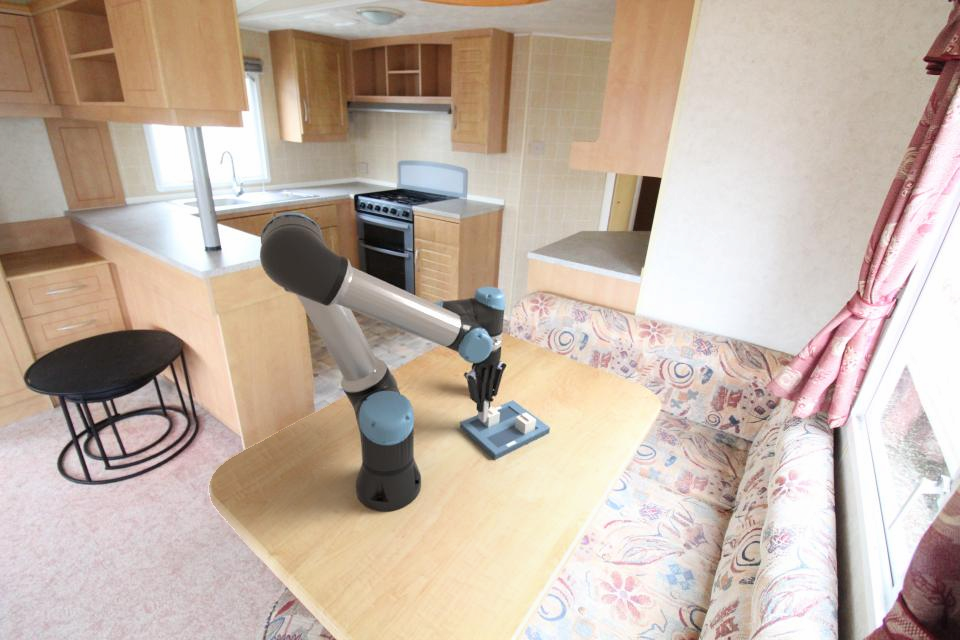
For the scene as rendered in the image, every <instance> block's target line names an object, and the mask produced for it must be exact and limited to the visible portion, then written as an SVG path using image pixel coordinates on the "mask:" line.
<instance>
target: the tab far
mask: <svg viewBox="0 0 960 640" xmlns="http://www.w3.org/2000/svg"><path fill="white" fill-rule="evenodd" d="M499 419H500V412H498V411H497V410H496V409H495V407H493V406H492V405H490V409H488V421H486V422H484V423H483V422H482V421H481V420H480V421H481V422H482V423H483V424H484V425H486V426H487V427H488V428H489V427H491V426H493V425H495V424H498V423H499Z"/></svg>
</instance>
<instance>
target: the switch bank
mask: <svg viewBox="0 0 960 640" xmlns="http://www.w3.org/2000/svg"><path fill="white" fill-rule="evenodd" d="M494 408H495V409H496V410H497V411H498V412H500V419H499V423H498V424H495V425H493V426H491V427H489V428H488V427H487V426H486V425H484V424H483V423H482V422H481V421H480V419H479V418H478V414H476V415H474V416H472V417H469V418H467V419H464V420H462V421H460V422H459V428H460V430H462V432H464V433H465V434H466V435H467V436H469V437H470V439H472V440H473V441H474V442H475V444H477V445H478V446H479V447H480V448H481V449H483V451H484V452H486V453H487V454H488V455H489V456H490V457H491V458H492V459H494V461H496V460H498V459H500V458H502V457H504V456H506V455H508V454H511V453H512V452H515V451H516V450H519V449H520V448H522V447H524V446H526V445H528V444H530V443H532V442H534V441H536V440H538V439H540V438H543V437H544V436H546V435H549V434H550V430H551V427H550V426H549V425H547V424H546V423H545V422H543V421H542V420H541V419H539V418H538V417H536V416H535V415H534V414H532V413H531V412H530V411H528V410H527V409H526V408H524V407H523V406H522V405H520V404H519V403H517V402H516V401H515V400H514V399H513V400H510V401H507V402H505V403H503V404H500V405H498V406H496V407H494ZM526 412H527V413H528V414H529V415H531V416H532V417H533V418H535V419H536V425H535V430H533V431H531V432H529V433H527V434H525V435H524V434H523V433H522V432H520V431H519V430H518V429H517V428H515V422H516V417H517V416H520V415H521V414H523V413H526Z"/></svg>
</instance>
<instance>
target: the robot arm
mask: <svg viewBox="0 0 960 640" xmlns="http://www.w3.org/2000/svg"><path fill="white" fill-rule="evenodd" d="M260 243H261V246H260V251H259V258H260V264H261V267H262V269H263V271H264V273H265V274H266V275H267V277H269V279H270V280H272V282H273V283H275V284H276V285H278V286H279V287H281V288H283V290H284V291H285V292H287V293H289V294H293V295H296V296H297V298H298V299H297V300H299V302H300V303H301V306H302V308H303V309H304V311H305V312H306V314H307V316H308V318H309V319H310V321H311V323H312V324H313V327H314V329H315V330H316V332H317V333H318V335H319V337H320V339H321V340H322V342H323V343H324V346H325V348H326V349H327V351H328V353H329V354H330V356H331V358H332V360H333V361H334V363H335V365H336V366H337V368H338V369H339V372H340V373H341V375H342V378H341V381H340V386H341V389H342V390H343V392H344V393H345V396H346V397H347V399H348V400H349V402H350V403H351V405H352V408H353V411H354V414H355V418H356V422H357V427H358V431H359V435H360V444H361V445H360V447H361V458H362V459H361V460H362V461H361V462H362V463H361V465H360V468H359V471H358V475H357V478H356V482H355V488H356V489H355V490H356V496H357V499H358V500H359V501H360V503H362V504H363V505H364V506H365V507H367V508H368V509H371V510H374V511H378V512H391V511H396V510H397V511H398V510H399V509H403V508H406V506H408V505H410V504H411V503H412V502H414V500H416V498H417V497H418V496H419V494H420V492H421V488H422V476H421V475H422V474H421V471H420V470H419V468H418V465H417V463H416V460H415V458H414V454H415V452H414V443H415V442H414V438H415V436H414V432H415V431H414V425H415V414H414V408H413V405H412V403H411V402H410V400H409V399H408V398H407V397H406V396H405V395H403V394H401V392H400V389H399V387H398V383H397V382H398V381H397V380H396V378H395V376H394V374H393V373H392V372H391V370H390V369H389V367H388V365H387V363H386V362H385V361H384V360H382V359H379V358H376V355H375V354H374V352H373V350H372V348H371V346H370V344H369V341H368V340H367V338H366V336H365V333H364V331H363V330H362V329H361V326H360V324H359V323H358V321H357V318H356V317H355V315H354V313H353V312H356V313H358V314H360V315H361V314H362V315H364V316H366V317H369V318H372V319H374V320H377V321H379V322H381V323H384V324H386V325H390V326H391V327H394V328H395V329H398V330H402V331H404V332H406V333H409V334H412V335H414V336H417V337H419V338H422V339H424V340H427V341H429V342H431V343H434V344H437V345H440V346H442V347H445V348H447V349H450V350H452V351H454V352H456V353H458V355H459V356H460V357H461V358H463V360H464V361H465V362H468V363H469V364H472V365H471V370H470V371H469V372H468V371H465V372H464V374H463V377H465V379H466V382H467V386H468V391H469V398H470V400H471V401H473V402H474V404H476V411H477V415H478V418H479V419H480V420H481V421H482V422H483V423H484V422H486V421H488V409H490V406H491V403H492V402H494V398H493V397H497V395H498V394H499V393H498V392H499V390H500V389H499V388H500V384H501V381H502V377H503V374H504V371H505V369H506V368H507V363H505V362H503V361H501V357H502V356H501V355H502V343H503V331H504V315H505V310H506V304H505V303H506V301H505V300H506V299H505V297H506V295H505V292H504V291H503V290H501V289H500V288H498V287H496V286H482V287H478V288H476V290H475V292H474V297H470V298H464V299H463V298H462V299H455V300H454V299H453V300H441V301H435V302H431V301H429V300H426V299H424V298H422V297H420V296H418V295H415V294H413V293H410V292H409V291H406V290H404V289H402V288H400V287H398V286H395V285H393V284H391V283H388V282H387V281H384V280H382V279H380V278H378V277H375V276H373V275H371V274H368V273H367V272H365V271H362V270H359V269H358V268H355V267H353V266H352V265H351V262H350V259H348V258H347V257H345V256H341V255H339V254H338V253H336V252H335V251H333V250H332V249H330V248H329V247H328V246H327V243H326V242H325V240H324V237H323V232H322V230H321V228H320V226H319V225H318V224H317V223H316V222H315V220H312V219H311V218H310V217H308V216H306V215H305V214H302V213H299V212H292V211H289V212H288V211H287V212H283V213H282V212H281V213H279V214H278V215H275V216H273V217H272V218H271V219H270V220H268V222H267V223H266V224H265V226H264V227H263V229H262V231H261V235H260ZM475 374H476V377H475ZM475 378H477V385H476V381H475Z"/></svg>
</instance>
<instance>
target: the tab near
mask: <svg viewBox="0 0 960 640" xmlns="http://www.w3.org/2000/svg"><path fill="white" fill-rule="evenodd" d="M535 425H536V419H535V418H533V417H532V416H531V415H529V414H528V413H527V412H526V413H523V414H521V415H520V416H517V417H516V422H515V428H517V429H518V430H519V431H520V432H522V433H523V434H524V435H525V434H527V433H529V432H531V431H533V430H535Z"/></svg>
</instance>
